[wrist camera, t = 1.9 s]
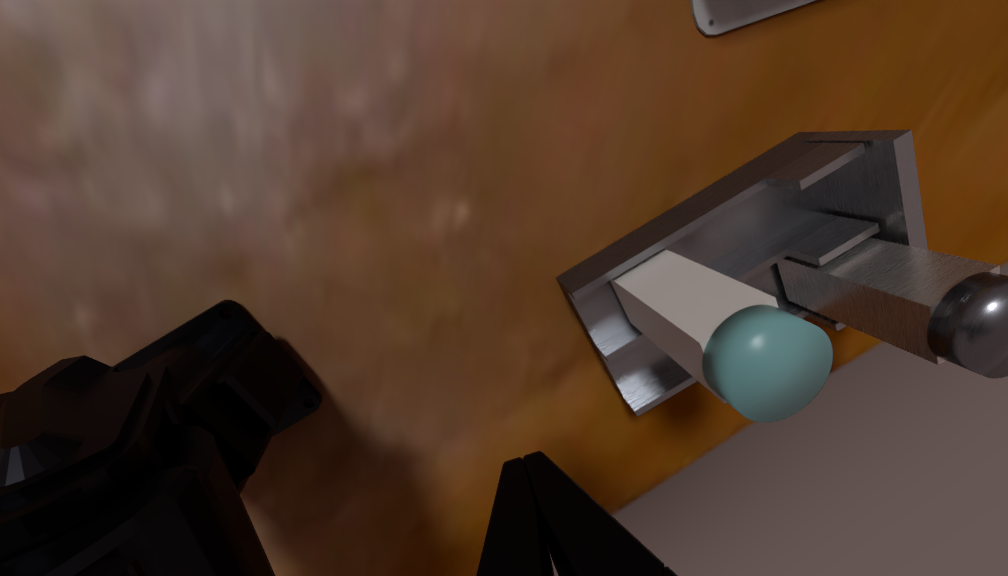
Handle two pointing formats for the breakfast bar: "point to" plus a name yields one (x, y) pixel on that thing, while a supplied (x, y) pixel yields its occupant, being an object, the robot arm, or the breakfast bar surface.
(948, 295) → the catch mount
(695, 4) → the emergency button
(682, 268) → the plunger
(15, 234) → the breakfast bar surface
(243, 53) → the breakfast bar surface
